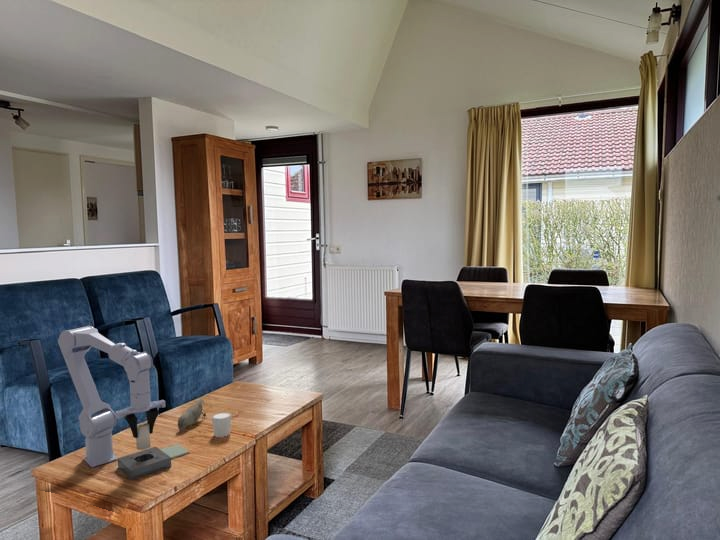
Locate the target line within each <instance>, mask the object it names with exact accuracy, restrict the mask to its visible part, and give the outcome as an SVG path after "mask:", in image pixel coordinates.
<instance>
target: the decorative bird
mask: <svg viewBox="0 0 720 540" xmlns="http://www.w3.org/2000/svg"><path fill="white" fill-rule="evenodd" d="M203 403H204V400H203V399H199V400H198V401H196V402H195V403H194V404H192V405H190V406H189V407H188V408H187V409H186V410H185V412H183V413H182V414H180V416H179V417H178V420H177V428H178V431H179V432H180V433H182V432H183V431H184V430H185V429H186V427H190V426H192V425H195V424H196V423H197V422H198V421H199V419H200V418H201V417H203V418H204V419H205V418H207V414H206V413H203ZM201 415H202V416H201Z"/></svg>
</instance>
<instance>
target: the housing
mask: <svg viewBox="0 0 720 540" xmlns="http://www.w3.org/2000/svg"><path fill="white" fill-rule="evenodd" d="M160 449H161V448H159V447H157V446H153V447H149V448H147V449H144V450H139V451H137V452H134V453H131V454H127V455H124V456H120V457H117V458H118V459H117V468H118V470H120V471H121V472H122V473H123V474H124V475H126V477H128V478H129V479H130V480H131V481H133V480H136V479H139V478H142V477H146V476H149V475H151V474H154V473H157V472H160V471H163V470H166V469H169V468H172V459H171V457H170V456H168V455H167V454H165V453H164V452H163V451H161V450H160Z"/></svg>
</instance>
